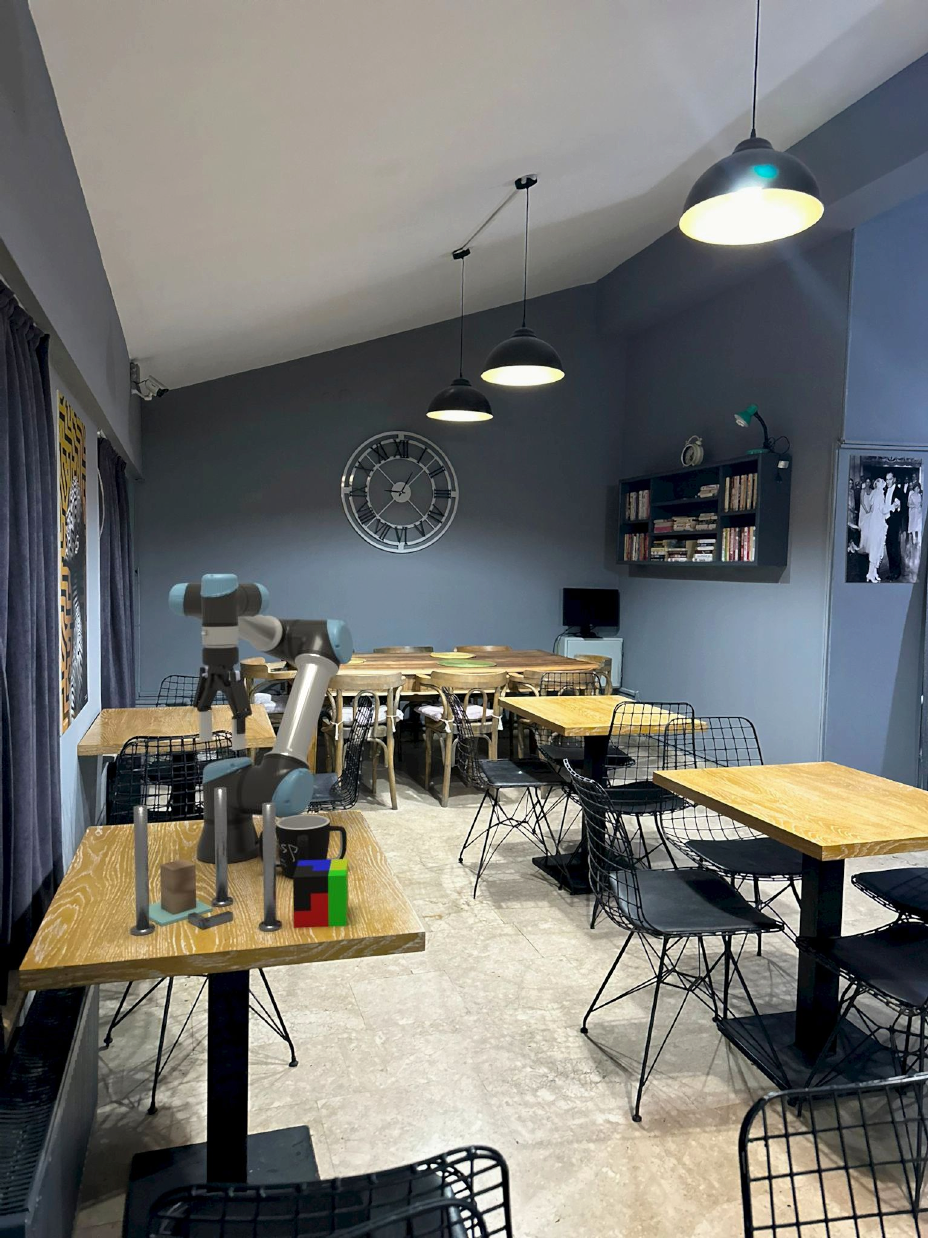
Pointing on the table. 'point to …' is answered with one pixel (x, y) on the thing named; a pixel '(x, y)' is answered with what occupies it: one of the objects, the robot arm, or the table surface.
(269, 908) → the post
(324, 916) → the puzzle toy
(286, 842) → the mug
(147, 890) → the post
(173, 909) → the walnut block
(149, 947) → the table surface
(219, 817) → the post
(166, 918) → the pad
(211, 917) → the gray corner bracket
